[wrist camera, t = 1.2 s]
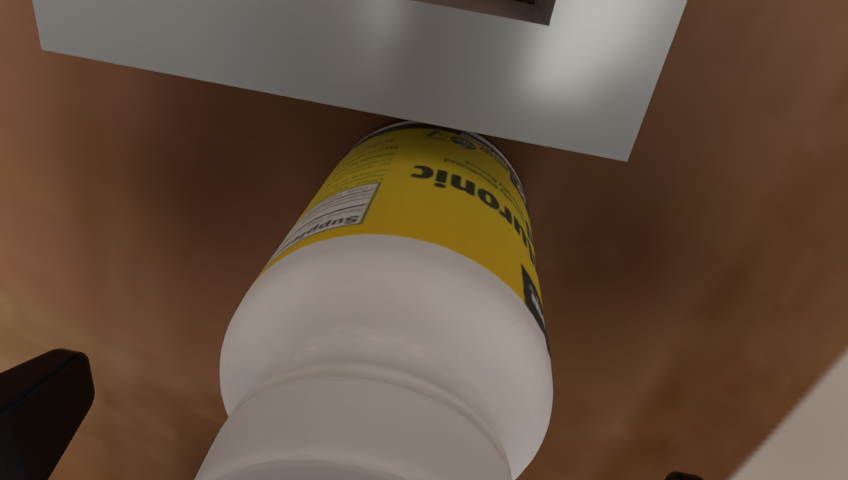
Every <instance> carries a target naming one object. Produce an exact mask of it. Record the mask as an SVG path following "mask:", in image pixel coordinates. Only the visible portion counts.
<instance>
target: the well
mask: <svg viewBox="0 0 848 480" xmlns="http://www.w3.org/2000/svg"><path fill="white" fill-rule="evenodd" d="M32 1H33V6H34V11H35V17H36V22H37V28H38V33H39V38H40V44H41V49H42V50H46V51H51V52H56V53H62V54H67V55H72V56H77V57H83V58H88V59H93V60H98V61H103V62H109V63H114V64H119V65H124V66H130V67H135V68H140V69H145V70H150V71H156V72H161V73H166V74H171V75H177V76H182V77H187V78H192V79H197V80H203V81H208V82H213V83H218V84H224V85H229V86H234V87H239V88H244V89H250V90H255V91H260V92H265V93H271V94H276V95H281V96H286V97H291V98H297V99H302V100H307V101H312V102H318V103H323V104H328V105H333V106H338V107H344V108H349V109H354V110H359V111H365V112H370V113H375V114H380V115H386V116H391V117H396V118H401V119H406V120H412V121H417V122H422V123H427V124H433V125H438V126H443V127H448V128H453V129H459V130H464V131H469V132H474V133H480V134H485V135H490V136H495V137H500V138H506V139H511V140H516V141H521V142H527V143H532V144H537V145H542V146H547V147H553V148H558V149H563V150H568V151H574V152H579V153H584V154H589V155H594V156H600V157H605V158H610V159H615V160H621V161H626V162H627V161H628V158H629V156H630V153H631V150H632V148H633V145H634V142H635V140H636V137H637V134H638V132H639V129H640V126H641V123H642V121H643V118H644V115H645V113H646V110H647V107H648V105H649V102H650V99H651V97H652V94H653V91H654V89H655V86H656V83H657V80H658V78H659V75H660V72H661V70H662V67H663V64H664V62H665V59H666V56H667V54H668V51H669V48H670V46H671V43H672V40H673V38H674V35H675V32H676V29H677V27H678V24H679V21H680V19H681V16H682V13H683V11H684V8H685V5H686V3H687V0H535V3H534V4H529V3H523V2H518V1H513V0H32Z"/></svg>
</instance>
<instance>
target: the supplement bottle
mask: <svg viewBox="0 0 848 480" xmlns="http://www.w3.org/2000/svg"><path fill="white" fill-rule="evenodd" d="M220 388H221V394H222V398H223V402H224V405H225V409H226V412H227V415H228V419H227V420H226V422H225V423H224V425H223V426H222V428H221V429H220V431H219V433H218V435H217V436H216V438H215V440H214V442H213V444H212V446H211V448H210V450H209V451H208V453H207V455H206V457H205V459H204V461H203V463H202V465H201V467H200V469H199V471H198V473H197V475H196V477H195V479H194V480H515V479H516V478H517V477H518V476H519V475H520V474H521V473H522V472H523V470H524V469H525V468H526V467H527V466H528V464H529V463H530V462H531V461H532V459H533V458H534V456H535V455H536V453H537V452H538V450H539V448H540V446H541V444H542V442H543V439H544V437H545V434H546V431H547V428H548V426H549V421H550V416H551V410H552V402H553V381H552V371H551V354H550V347H549V343H548V337H547V332H546V326H545V319H544V313H543V306H542V299H541V292H540V287H539V278H538V272H537V264H536V258H535V251H534V244H533V238H532V231H531V223H530V216H529V209H528V205H527V202H526V198H525V194H524V191H523V188H522V185H521V183H520V180H519V178H518V176H517V174H516V172H515V171H514V169H513V167H512V166H511V165H510V163H509V162H508V160H507V159H506V158H505V157H504V155H503V154H502V153H501V152H500V151H499V150H498V149H497V148H496V147H495V146H493V145H492V144H491V143H490V142H488V141H487V140H486V139H484V138H483V137H481V136H479V135H478V134H476V133H474V132H469V131H464V130H459V129H453V128H448V127H443V126H438V125H433V124H427V123H422V122H417V121H412V120H410V121H405V122H400V123H395V124H392V125H389V126H386V127H383V128H381V129H379V130H377V131H375V132H373V133H371V134H370V135H368V136H366V137H365V138H363V139H362V140H361V141H359V142H358V143H357V144H356V145H355V146H354V147H353V148H352V149H351V150H350V151H349V152H348V153H347V154H346V155H345V156H344V157H343V158H342V159H341V161H340V162H339V163H338V164H337V166H336V167H335V169H334V170H333V171H332V173H331V174H330V175H329V177H328V178H327V180H326V181H325V182H324V184H323V185H322V187H321V188H320V189H319V191H318V192H317V194H316V195H315V196H314V198H313V199H312V201H311V202H310V204H309V205H308V207H307V208H306V209H305V211H304V212H303V214H302V215H301V216H300V218H299V219H298V220H297V222H296V224H295V225H294V226H293V228H292V229H291V231H290V232H289V233H288V235H287V236H286V238H285V239H284V241H283V242H282V243H281V245H280V246H279V248H278V249H277V251H276V252H275V254H274V255H273V256H272V257H271V259H270V260H269V262H268V263H267V265H266V266H265V268H264V269H263V270H262V271H261V273H260V274H259V276H258V277H257V278H256V280H255V281H254V283H253V284H252V286H251V287H250V289H249V290H248V291H247V293H246V294H245V296H244V298H243V300H242V301H241V303H240V305H239V307H238V308H237V310H236V312H235V314H234V316H233V317H232V319H231V321H230V323H229V325H228V328H227V331H226V334H225V338H224V342H223V345H222V349H221V357H220Z"/></svg>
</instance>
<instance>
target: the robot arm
mask: <svg viewBox="0 0 848 480" xmlns="http://www.w3.org/2000/svg"><path fill="white" fill-rule="evenodd" d="M94 394H95V389H94V384H93V379H92V374H91V368H90V363H89V359H88V357H87V356H86V355H85V354H84V353H82V352H78V351H73V350H68V349H62V348H60V349H54V350H51V351H49V352H46V353H44V354H42V355H40V356H37V357H35V358H33V359H31V360H28V361H26V362H24V363H22V364H20V365H17V366H15V367H13V368H11V369H8V370H6V371H4V372H2V373H0V480H48V478H49V477H50V475H51V473H52V472H53V470H54V468H55V467H56V465H57V463H58V462H59V460H60V458H61V456H62V455H63V453H64V451H65V450H66V448H67V446H68V445H69V443H70V441H71V440H72V438H73V436H74V435H75V433H76V431H77V429H78V428H79V426H80V424H81V423H82V421H83V419H84V418H85V416H86V414H87V413H88V411H89V409H90V407H91V405H92V403H93V400H94ZM665 480H703V479H702V478H701V477H699V476H697V475H693V474H688V473H683V472H678V471H673V472H671V473H669V474H668V476H667V477H666V479H665Z"/></svg>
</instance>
